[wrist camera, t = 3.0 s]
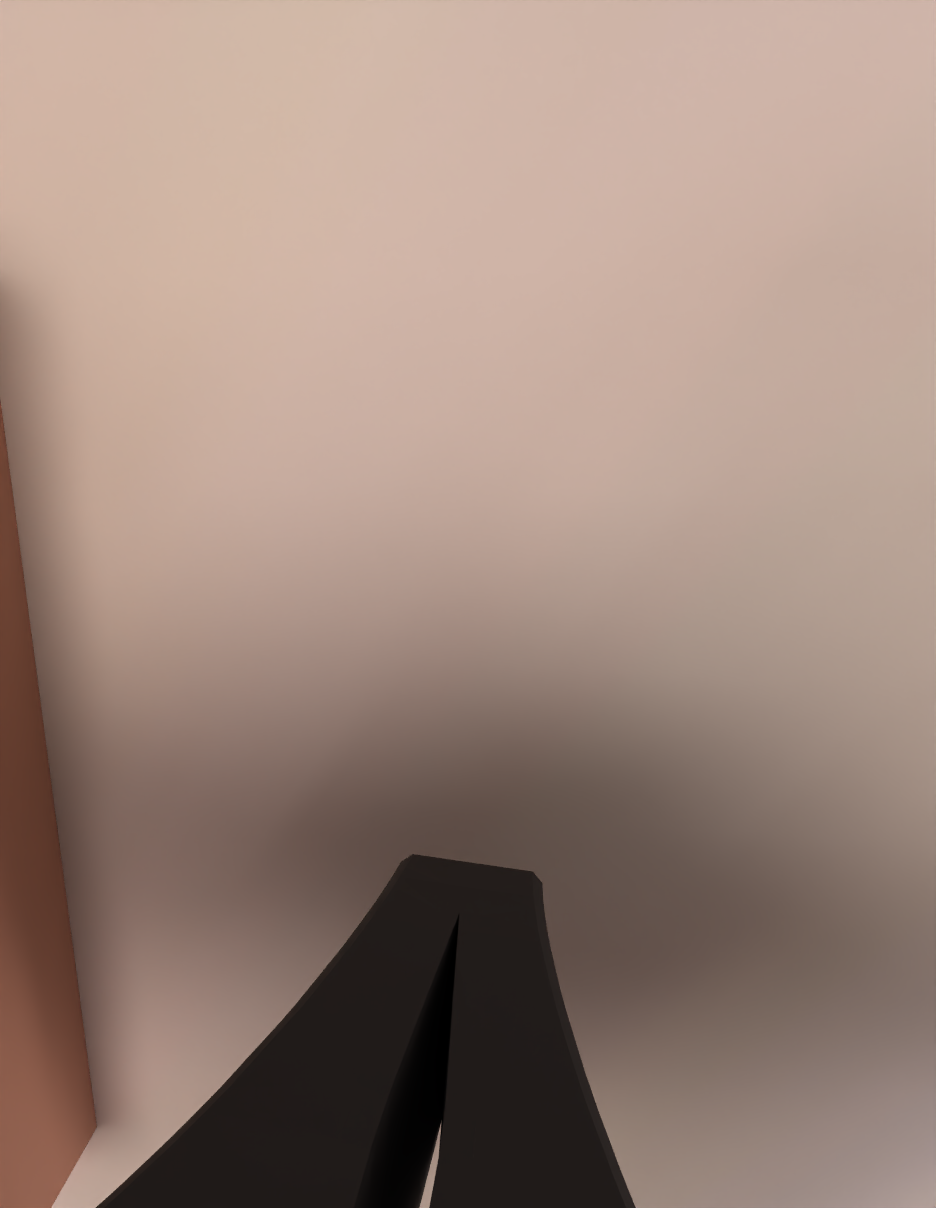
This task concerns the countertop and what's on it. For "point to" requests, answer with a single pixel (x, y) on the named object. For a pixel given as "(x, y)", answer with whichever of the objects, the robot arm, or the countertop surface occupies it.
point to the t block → (33, 924)
